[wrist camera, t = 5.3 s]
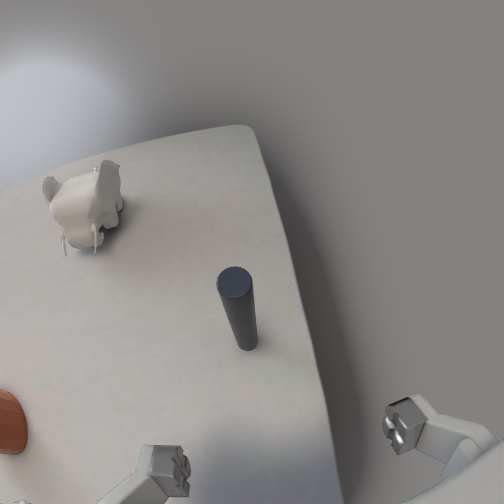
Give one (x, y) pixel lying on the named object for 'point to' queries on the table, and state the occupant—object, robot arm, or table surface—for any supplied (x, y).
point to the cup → (11, 425)
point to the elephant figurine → (85, 204)
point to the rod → (239, 305)
